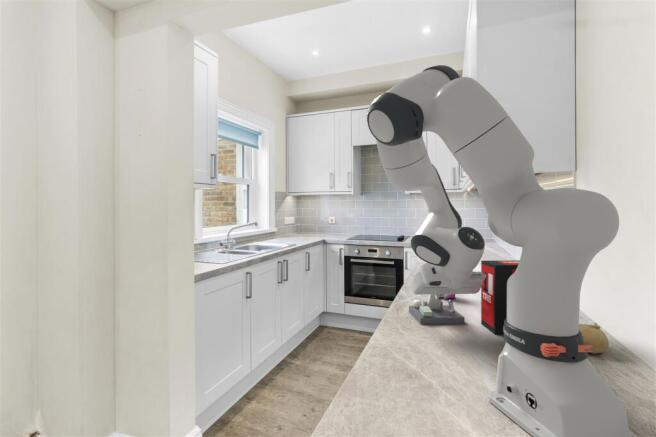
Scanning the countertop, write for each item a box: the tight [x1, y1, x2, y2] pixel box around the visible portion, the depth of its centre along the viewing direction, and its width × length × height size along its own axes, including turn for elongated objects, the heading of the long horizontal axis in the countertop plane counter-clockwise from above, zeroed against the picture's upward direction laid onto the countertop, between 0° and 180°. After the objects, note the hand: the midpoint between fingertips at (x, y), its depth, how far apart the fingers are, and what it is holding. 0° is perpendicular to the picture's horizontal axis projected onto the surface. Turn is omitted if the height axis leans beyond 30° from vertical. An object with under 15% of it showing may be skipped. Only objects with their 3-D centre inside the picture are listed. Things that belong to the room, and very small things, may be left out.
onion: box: [579, 322, 610, 355], centre depth 81 cm, size 8×8×7 cm
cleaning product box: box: [480, 259, 520, 336], centre depth 95 cm, size 16×9×20 cm, turn 88°
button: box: [412, 299, 423, 308], centre depth 111 cm, size 3×3×2 cm
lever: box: [426, 294, 443, 309], centre depth 106 cm, size 2×4×12 cm, turn 92°
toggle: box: [448, 299, 457, 313], centre depth 105 cm, size 1×2×4 cm, turn 92°
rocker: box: [419, 305, 432, 316], centre depth 103 cm, size 4×3×1 cm
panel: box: [408, 300, 466, 325], centre depth 107 cm, size 13×14×5 cm
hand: (439, 297), depth 102 cm, fingers closed
